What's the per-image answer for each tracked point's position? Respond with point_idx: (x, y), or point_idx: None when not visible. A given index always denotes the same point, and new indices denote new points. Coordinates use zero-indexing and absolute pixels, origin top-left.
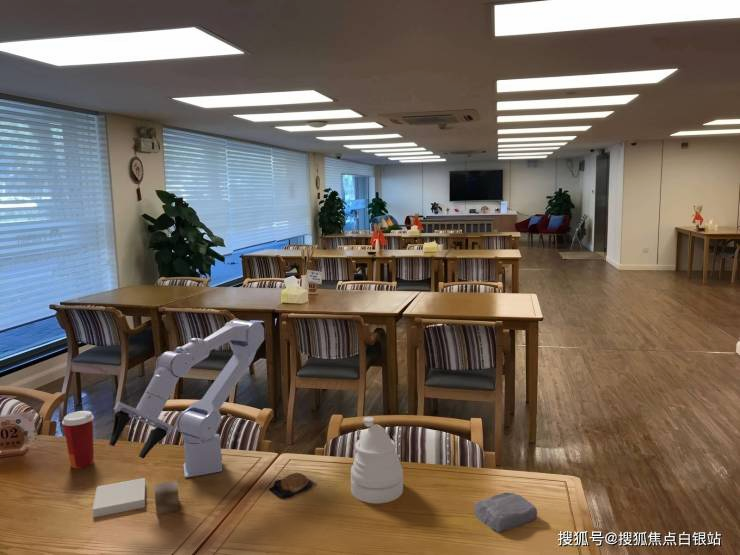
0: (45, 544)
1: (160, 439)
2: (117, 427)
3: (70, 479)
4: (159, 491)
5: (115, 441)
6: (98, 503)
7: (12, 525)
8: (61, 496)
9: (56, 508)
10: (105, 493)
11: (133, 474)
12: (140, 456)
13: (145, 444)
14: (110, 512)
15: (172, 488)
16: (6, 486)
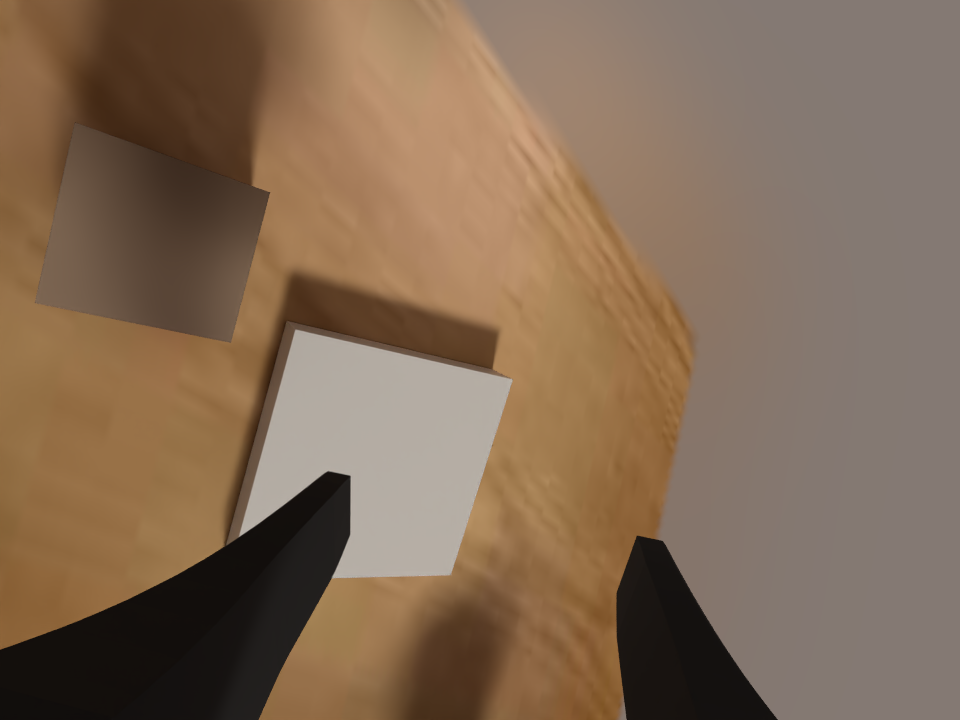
0: (637, 284)
1: (105, 614)
2: (768, 713)
3: (483, 705)
4: (225, 222)
5: (658, 566)
6: (483, 416)
7: (663, 460)
8: (533, 586)
9: (563, 506)
10: (438, 494)
11: None
12: (348, 506)
13: (288, 642)
14: (438, 357)
15: (113, 198)
16: (622, 702)
